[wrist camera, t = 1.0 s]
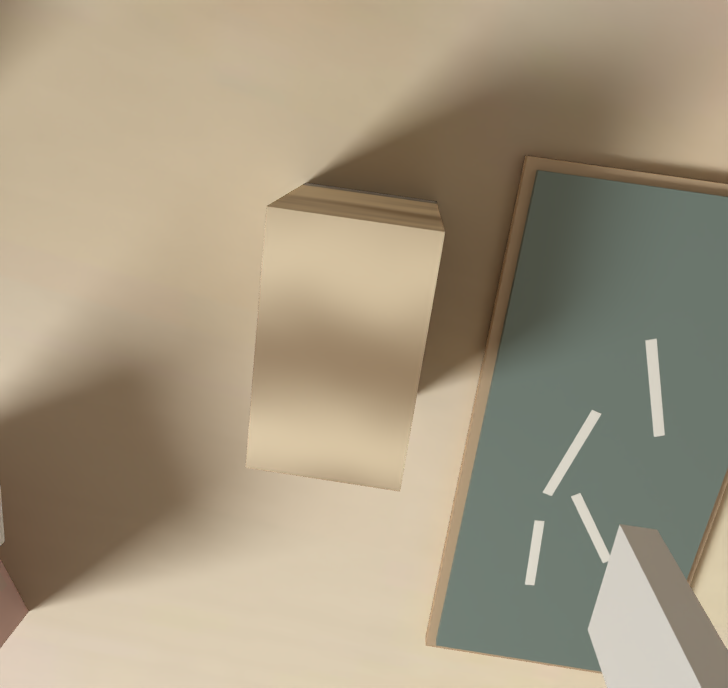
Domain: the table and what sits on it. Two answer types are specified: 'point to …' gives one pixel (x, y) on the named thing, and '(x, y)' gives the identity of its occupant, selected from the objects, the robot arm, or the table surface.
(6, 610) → the greeting card
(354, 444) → the eraser block
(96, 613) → the table surface
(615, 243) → the chalkboard
